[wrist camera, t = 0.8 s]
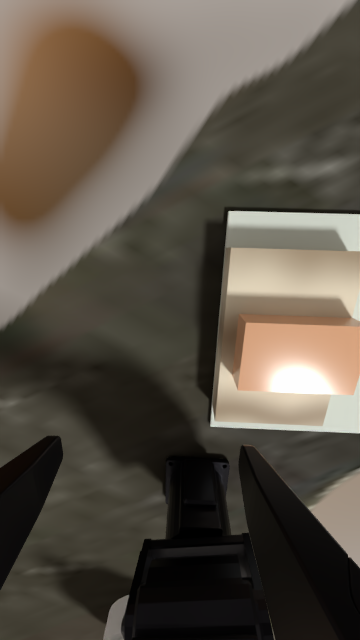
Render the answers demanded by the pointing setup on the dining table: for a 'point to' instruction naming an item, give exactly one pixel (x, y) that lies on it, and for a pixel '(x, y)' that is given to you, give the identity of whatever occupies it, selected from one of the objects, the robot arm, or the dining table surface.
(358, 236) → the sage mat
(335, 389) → the terracotta tile
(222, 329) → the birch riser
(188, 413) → the dining table surface
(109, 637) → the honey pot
